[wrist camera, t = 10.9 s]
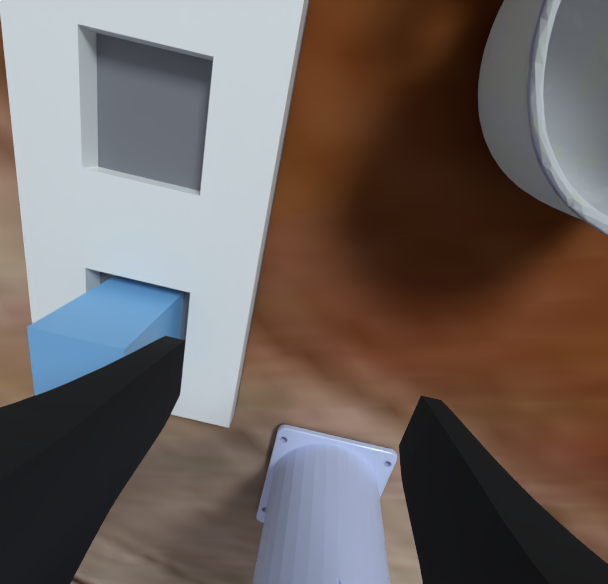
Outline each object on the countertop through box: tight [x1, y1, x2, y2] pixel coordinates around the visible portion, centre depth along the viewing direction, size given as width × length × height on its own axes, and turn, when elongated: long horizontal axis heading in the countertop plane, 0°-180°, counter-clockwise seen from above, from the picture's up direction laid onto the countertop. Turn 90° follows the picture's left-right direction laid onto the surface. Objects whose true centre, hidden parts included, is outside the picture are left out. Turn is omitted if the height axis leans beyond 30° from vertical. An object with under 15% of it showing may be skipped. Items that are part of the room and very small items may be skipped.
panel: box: [0, 0, 309, 428], centre depth 18 cm, size 22×12×2 cm, turn 168°
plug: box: [27, 276, 184, 396], centre depth 18 cm, size 4×4×6 cm
